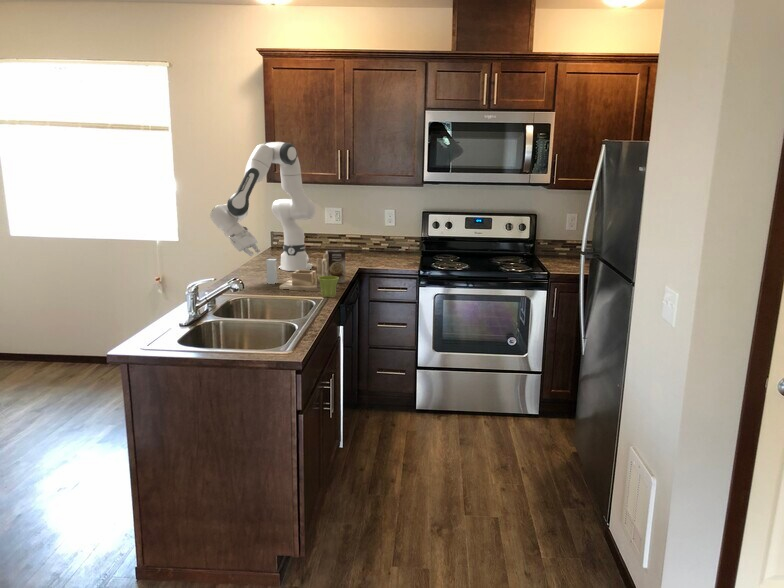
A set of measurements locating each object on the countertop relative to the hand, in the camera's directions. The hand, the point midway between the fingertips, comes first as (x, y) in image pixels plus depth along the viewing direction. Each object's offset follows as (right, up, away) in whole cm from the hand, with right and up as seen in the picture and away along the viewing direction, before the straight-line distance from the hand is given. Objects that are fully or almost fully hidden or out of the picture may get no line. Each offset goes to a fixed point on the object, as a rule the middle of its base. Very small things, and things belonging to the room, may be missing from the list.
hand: (255, 253), depth 305 cm
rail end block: (+8, -15, +2) cm, 17 cm away
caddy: (+25, -16, -5) cm, 30 cm away
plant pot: (+38, -21, -23) cm, 50 cm away
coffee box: (+39, -14, +9) cm, 42 cm away
